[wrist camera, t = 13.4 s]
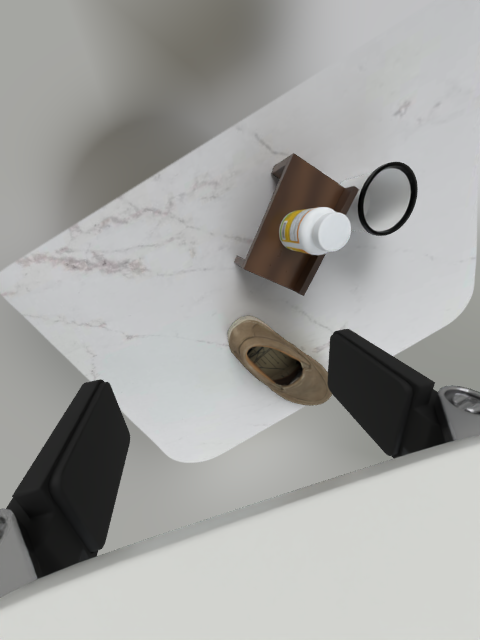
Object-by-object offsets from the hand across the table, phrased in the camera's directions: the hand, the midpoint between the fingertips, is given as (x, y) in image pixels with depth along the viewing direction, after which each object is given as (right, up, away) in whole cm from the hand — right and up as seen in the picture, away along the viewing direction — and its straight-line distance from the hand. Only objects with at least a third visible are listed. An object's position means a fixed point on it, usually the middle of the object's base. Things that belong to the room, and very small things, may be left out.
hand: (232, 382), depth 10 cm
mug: (+21, +24, +31) cm, 44 cm away
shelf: (+7, +18, +30) cm, 36 cm away
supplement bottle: (+8, +16, +24) cm, 30 cm away
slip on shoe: (+9, -6, +41) cm, 42 cm away
